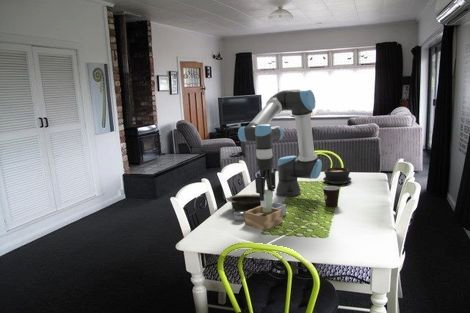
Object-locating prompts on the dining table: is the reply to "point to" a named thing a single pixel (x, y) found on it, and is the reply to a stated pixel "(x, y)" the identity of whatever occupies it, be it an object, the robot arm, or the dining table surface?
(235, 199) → the stone bowl
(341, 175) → the casserole
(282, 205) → the grey tub
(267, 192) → the pale green block
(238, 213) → the pewter tin
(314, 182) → the dining table surface
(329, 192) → the coffee mug
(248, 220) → the oak crate
